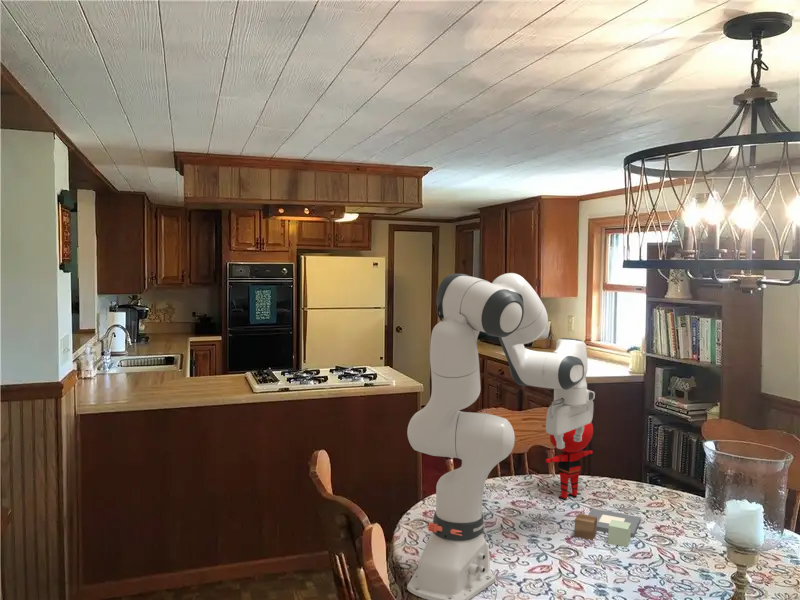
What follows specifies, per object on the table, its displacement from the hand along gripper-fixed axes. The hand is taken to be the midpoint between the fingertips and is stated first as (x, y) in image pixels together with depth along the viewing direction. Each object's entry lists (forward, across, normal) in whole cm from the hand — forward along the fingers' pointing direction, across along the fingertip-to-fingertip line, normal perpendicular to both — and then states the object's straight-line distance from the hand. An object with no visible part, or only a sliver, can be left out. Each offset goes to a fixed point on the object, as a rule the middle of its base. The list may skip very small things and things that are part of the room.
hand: (569, 444), depth 174 cm
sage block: (+25, +4, -13) cm, 29 cm away
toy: (+26, +26, +14) cm, 40 cm away
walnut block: (+25, +2, -4) cm, 26 cm away
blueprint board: (+26, +15, -6) cm, 30 cm away
